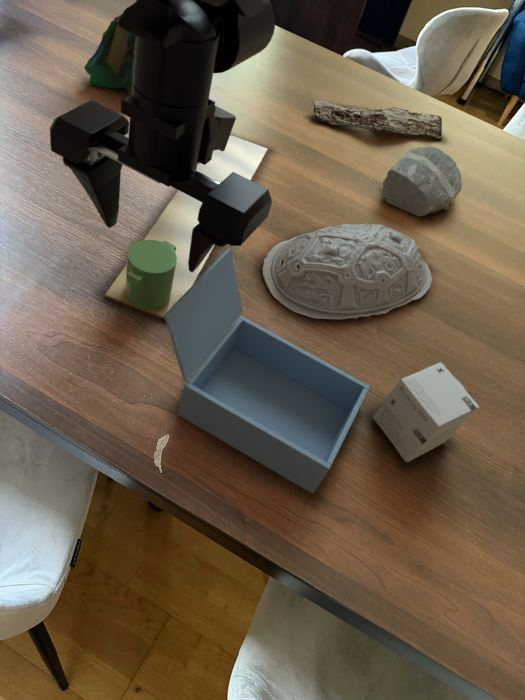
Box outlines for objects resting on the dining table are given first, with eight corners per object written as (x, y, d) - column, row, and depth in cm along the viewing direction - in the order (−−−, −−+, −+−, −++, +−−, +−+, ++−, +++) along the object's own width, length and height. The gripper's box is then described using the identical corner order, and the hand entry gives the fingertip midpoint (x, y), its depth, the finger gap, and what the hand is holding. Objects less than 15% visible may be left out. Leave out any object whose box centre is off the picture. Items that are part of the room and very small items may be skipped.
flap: (186, 381, 52) (183, 380, 52) (243, 311, 59) (240, 310, 59) (167, 315, 47) (163, 315, 47) (231, 248, 54) (227, 248, 54)
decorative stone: (406, 166, 97) (422, 134, 92) (460, 195, 95) (479, 164, 90) (375, 197, 89) (391, 163, 84) (433, 230, 87) (452, 197, 82)
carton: (177, 414, 56) (184, 385, 52) (231, 345, 63) (240, 315, 59) (312, 494, 54) (329, 469, 50) (352, 413, 61) (370, 386, 57)
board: (172, 322, 63) (173, 320, 63) (104, 297, 63) (104, 294, 63) (267, 150, 90) (267, 148, 89) (219, 133, 90) (219, 130, 89)
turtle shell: (242, 241, 74) (258, 201, 68) (391, 228, 85) (414, 193, 80) (292, 339, 67) (314, 304, 62) (445, 310, 79) (475, 279, 74)
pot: (150, 321, 62) (154, 285, 58) (110, 298, 63) (111, 261, 59) (184, 286, 67) (191, 250, 63) (147, 265, 67) (151, 228, 63)
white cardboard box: (370, 418, 61) (398, 377, 56) (411, 399, 64) (441, 359, 59) (406, 465, 59) (439, 427, 53) (446, 443, 61) (482, 405, 56)
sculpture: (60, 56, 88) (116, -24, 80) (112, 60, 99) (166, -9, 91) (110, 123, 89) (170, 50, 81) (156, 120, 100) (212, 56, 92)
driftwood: (334, 124, 94) (338, 91, 92) (301, 125, 102) (304, 95, 101) (449, 140, 105) (454, 110, 104) (410, 140, 114) (415, 112, 113)
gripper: (321, 105, 47) (273, 249, 59) (130, 13, 50) (120, 169, 61) (261, 158, 40) (220, 311, 51) (41, 48, 42) (49, 218, 54)
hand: (151, 247), depth 55 cm, fingers open, 9 cm apart
